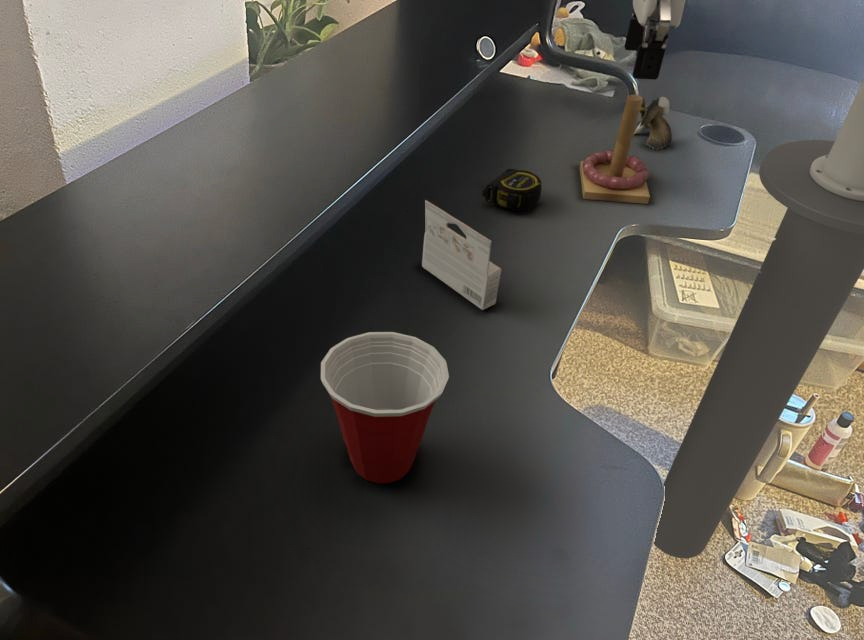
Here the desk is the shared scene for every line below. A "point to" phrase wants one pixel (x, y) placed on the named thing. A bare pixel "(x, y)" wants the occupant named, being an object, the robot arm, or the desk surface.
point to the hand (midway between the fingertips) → (640, 63)
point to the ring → (615, 181)
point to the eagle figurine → (656, 123)
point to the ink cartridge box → (459, 258)
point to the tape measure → (514, 190)
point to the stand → (619, 163)
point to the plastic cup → (383, 398)
